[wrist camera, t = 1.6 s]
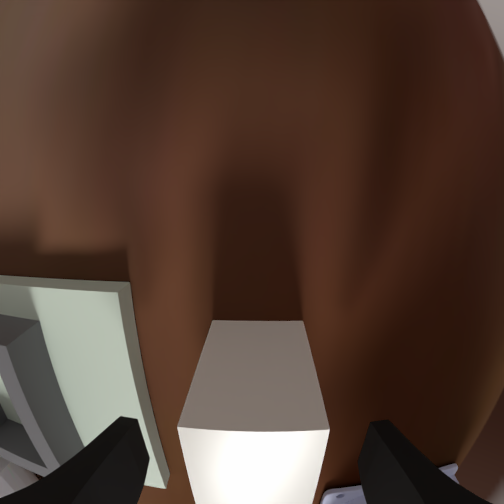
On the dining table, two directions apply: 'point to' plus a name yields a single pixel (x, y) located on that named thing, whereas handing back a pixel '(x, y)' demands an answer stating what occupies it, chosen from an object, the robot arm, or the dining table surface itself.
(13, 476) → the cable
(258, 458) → the plug
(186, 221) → the dining table surface
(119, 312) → the board
